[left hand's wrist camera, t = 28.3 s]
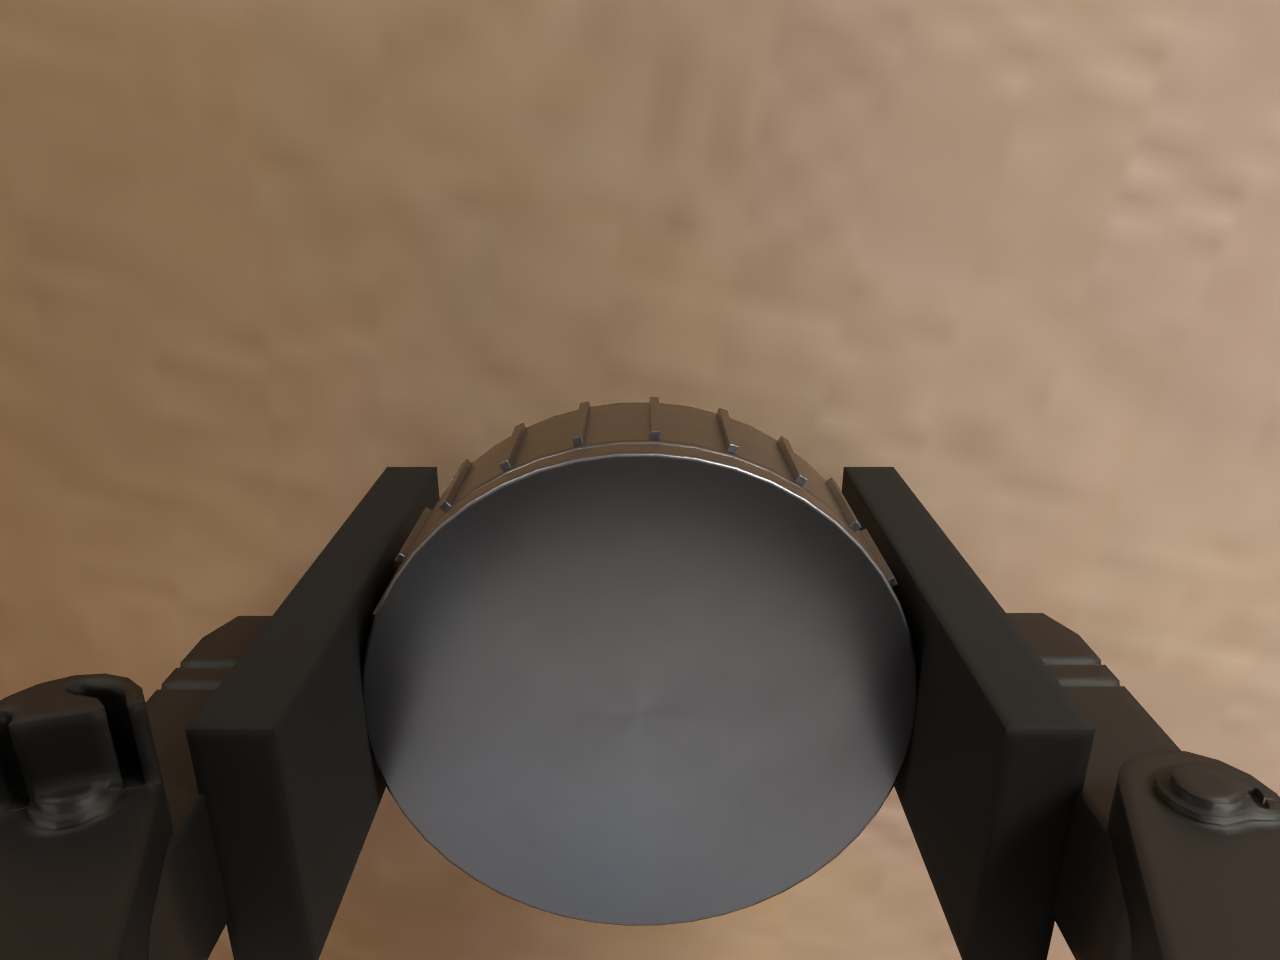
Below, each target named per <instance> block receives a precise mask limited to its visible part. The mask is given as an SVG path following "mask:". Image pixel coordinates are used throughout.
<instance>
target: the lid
mask: <svg viewBox="0 0 1280 960" xmlns="http://www.w3.org/2000/svg"><path fill="white" fill-rule="evenodd" d="M860 528H861V525H860V524H859V522H858V520H857V518H856V517H855V515H854V513H853V511H852V509H851V508H850V506H849V504H848V502H847V501H846V499H845V497H844V495H843V494H842V492H841V490H840V488H839V487H838V485H837V483H836V482H835V481H834V480H833V479H832V478H830V479H829V480H828V481H825V480H824V479H823V478H822V477H821V476H820V475H819V474H818V473H817V472H816V471H815V470H814V469H813V468H812V467H811V466H810V465H809V464H808V463H807V462H806V461H805V460H803V459H802V458H801V457H799V456H798V455H797V454H795V453H794V452H793V450H792V447H791V445H790V443H789V441H788V440H787V439H785V438H784V437H782V436H781V437H780V438H779V440H778V441H777V440H775V439H773V438H771V437H770V436H768V435H766V434H764V433H762V432H761V431H759V430H757V429H755V428H753V427H751V426H749V425H746V424H744V423H741V422H738V421H736V420H733V419H731V418H729V415H728V412H727V411H726V410H723V409H720V408H719V410H718V412H717V414H716V413H712V412H708V411H704V410H700V409H696V408H692V407H688V406H679V405H671V404H662V403H659V398H658V397H650V403H616V404H609V405H602V406H595V407H590V405H589V402H584V403H580V406H579V410H576V411H572V412H568V413H565V414H561V415H557V416H554V417H551V418H549V419H546V420H544V421H542V422H539V423H537V424H534V425H532V426H530V427H527V428H526V427H525V426H524V424H523V423H522V424H520V425H518V426H516V427H515V429H514V431H513V434H512V436H511V437H509V438H507V439H505V440H504V441H502V442H500V443H499V444H497V445H495V446H494V447H493V448H491V449H490V450H489V451H487V452H486V453H485V454H484V455H482V456H481V457H480V458H478V459H477V460H476V461H475V462H473V463H471V462H470V461H469V460H466V461H465V462H464V463H463V464H462V465H461V467H460V468H459V470H458V472H457V474H456V476H455V477H454V479H453V481H452V483H451V485H450V486H449V487H448V489H447V490H446V491H445V493H444V494H443V496H442V497H441V498H440V500H439V501H438V502H437V504H436V505H435V507H434V508H433V509H432V510H431V509H429V508H427V507H426V508H425V509H424V511H423V513H422V514H421V516H420V518H419V520H418V521H417V523H416V525H415V526H414V528H413V530H412V532H411V533H410V535H409V537H408V538H407V540H406V542H405V544H404V545H403V547H402V549H401V550H400V552H399V554H398V556H397V557H396V559H395V561H397V562H399V563H400V566H399V567H398V569H397V571H396V573H395V574H394V576H393V578H392V580H391V581H390V583H389V585H388V587H387V589H386V590H385V592H384V594H383V596H382V597H381V599H380V601H379V603H378V604H377V606H376V608H375V610H374V612H373V613H372V617H371V621H373V624H372V627H371V630H370V633H369V636H368V640H367V646H366V651H365V657H364V663H363V669H362V693H363V702H364V710H365V718H366V725H367V733H368V739H369V743H370V746H371V749H372V753H373V756H374V759H375V763H376V765H377V767H378V769H379V771H380V773H381V775H382V778H383V780H384V782H385V784H386V786H387V788H388V790H389V792H390V793H391V795H392V797H393V798H394V800H395V801H396V803H397V804H398V806H399V807H400V809H401V810H402V812H403V814H404V815H405V816H406V818H407V819H408V820H409V821H410V822H411V823H412V825H413V826H414V827H415V828H416V829H417V831H418V832H419V833H420V834H421V835H422V836H423V838H424V839H425V840H426V841H427V842H428V843H430V844H431V845H432V846H433V847H434V848H435V849H436V850H437V851H438V852H439V853H440V854H442V855H443V856H444V857H445V858H446V859H447V860H448V861H450V862H451V863H452V864H454V865H455V866H456V867H458V868H459V869H461V870H462V871H463V872H465V873H466V874H468V875H469V876H470V877H472V878H473V879H475V880H477V881H478V882H480V883H482V884H484V885H486V886H487V887H489V888H491V889H493V890H495V891H496V892H498V893H500V894H502V895H504V896H507V897H509V898H511V899H514V900H516V901H518V902H521V903H523V904H526V905H528V906H530V907H533V908H537V909H540V910H543V911H546V912H550V913H553V914H556V915H560V916H563V917H568V918H574V919H579V920H584V921H589V922H594V923H605V924H616V925H666V924H675V923H684V922H692V921H697V920H702V919H707V918H711V917H716V916H721V915H725V914H728V913H731V912H734V911H737V910H740V909H743V908H746V907H749V906H753V905H755V904H758V903H760V902H762V901H764V900H767V899H769V898H771V897H773V896H776V895H778V894H780V893H782V892H784V891H786V890H788V889H789V888H791V887H793V886H795V885H796V884H798V883H800V882H801V881H803V880H805V879H807V878H808V877H810V876H812V875H813V874H814V873H816V872H817V871H818V870H820V869H821V868H822V867H824V866H825V865H826V864H828V863H829V862H830V861H832V860H833V859H834V858H836V857H837V856H838V855H839V854H840V853H841V852H842V851H843V850H844V849H845V848H846V847H847V846H848V845H849V844H851V843H852V842H853V841H854V840H855V839H856V838H857V837H858V836H859V835H860V834H861V832H862V831H863V830H864V829H865V827H866V826H867V825H868V824H869V822H870V821H871V820H872V819H873V818H874V816H875V815H876V814H877V813H878V811H879V810H880V808H881V806H882V805H883V803H884V802H885V800H886V798H887V797H888V795H889V793H890V792H891V790H892V788H893V787H894V785H895V783H896V781H897V778H898V776H899V774H900V771H901V769H902V767H903V765H904V762H905V760H906V758H907V754H908V750H909V747H910V743H911V739H912V736H913V730H914V723H915V715H916V707H917V699H918V671H917V661H916V656H915V651H914V646H913V641H912V636H911V632H910V629H909V626H908V624H907V621H906V618H905V615H904V613H903V610H902V607H901V605H900V602H899V600H898V598H897V597H896V595H895V593H894V591H893V589H892V588H891V587H893V586H895V585H897V582H896V580H895V577H894V576H893V574H892V572H891V571H890V569H889V567H888V565H887V564H886V562H885V560H884V558H883V557H882V555H881V553H880V552H879V550H878V548H877V546H876V545H875V543H874V541H873V539H872V538H871V536H870V534H869V533H868V531H867V529H863V530H861V531H860V530H859V529H860Z"/></svg>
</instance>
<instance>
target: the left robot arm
mask: <svg viewBox="0 0 1280 960" xmlns="http://www.w3.org/2000/svg"><path fill="white" fill-rule="evenodd" d="M842 494H843V495H844V497H845V499H846V501H847V502H848V504H849V506H850V508H851V509H852V511H853V513H854V515H855V517H856V518H857V520H858V522H859V524H860V525H861V528H860V529H859V530H860V531H861V530H863V529H867V531H868V533H869V534H870V536H871V538H872V539H873V541H874V543H875V545H876V546H877V548H878V550H879V552H880V553H881V555H882V557H883V558H884V560H885V562H886V564H887V565H888V567H889V569H890V571H891V572H892V574H893V576H894V577H895V580H896V582H897V585H895V586H893V587H891V588H892V589H893V591H894V593H895V595H896V597H897V598H898V600H899V602H900V605H901V607H902V610H903V613H904V615H905V618H906V621H907V624H908V626H909V629H910V632H911V636H912V641H913V646H914V651H915V656H916V661H917V671H918V699H917V707H916V715H915V723H914V730H913V736H912V739H911V743H910V747H909V750H908V754H907V758H906V760H905V762H904V765H903V767H902V769H901V771H900V774H899V776H898V778H897V781H896V783H895V785H894V787H895V789H896V792H897V794H898V797H899V799H900V802H901V804H902V807H903V810H904V812H905V815H906V817H907V820H908V822H909V825H910V827H911V830H912V833H913V835H914V838H915V840H916V843H917V845H918V848H919V850H920V853H921V855H922V858H923V861H924V863H925V866H926V868H927V871H928V873H929V876H930V878H931V881H932V884H933V886H934V889H935V891H936V894H937V896H938V899H939V901H940V904H941V906H942V909H943V912H944V914H945V917H946V919H947V922H948V924H949V927H950V929H951V932H952V935H953V937H954V940H955V942H956V945H957V947H958V950H959V952H960V955H961V957H962V960H1047V955H1048V950H1049V946H1050V941H1051V936H1052V932H1053V927H1054V922H1055V921H1056V923H1057V925H1058V927H1059V929H1060V931H1061V933H1062V934H1063V936H1064V938H1065V940H1066V942H1067V944H1068V946H1069V948H1070V950H1071V951H1072V953H1073V955H1074V957H1075V959H1076V960H1280V797H1279V796H1278V795H1277V794H1276V793H1275V792H1273V791H1272V790H1271V789H1269V788H1268V787H1267V786H1265V785H1264V784H1262V783H1261V782H1260V781H1258V780H1257V779H1255V778H1254V777H1253V776H1251V775H1249V774H1247V773H1245V772H1243V771H1241V770H1239V769H1237V768H1234V767H1232V766H1230V765H1228V764H1226V763H1224V762H1222V761H1219V760H1216V759H1212V758H1208V757H1205V756H1201V755H1197V754H1194V753H1190V752H1186V751H1181V750H1180V749H1179V748H1178V747H1177V746H1176V744H1175V743H1174V742H1173V741H1172V740H1171V739H1170V738H1169V737H1168V735H1167V734H1166V733H1165V732H1164V731H1163V730H1162V729H1161V727H1160V726H1159V725H1158V724H1157V723H1156V722H1155V721H1154V720H1153V718H1152V717H1151V716H1150V715H1149V714H1148V713H1147V712H1146V711H1145V709H1144V708H1143V707H1142V706H1141V705H1140V704H1139V703H1138V701H1137V700H1136V699H1135V698H1134V697H1133V696H1132V695H1131V694H1130V692H1129V691H1128V690H1127V689H1126V688H1125V687H1124V686H1120V684H1119V680H1118V679H1117V678H1116V677H1115V675H1114V674H1113V673H1112V672H1111V671H1110V670H1109V669H1108V668H1107V666H1106V665H1101V660H1100V658H1099V657H1098V656H1097V655H1096V654H1095V653H1094V652H1093V651H1092V649H1091V648H1090V647H1089V646H1088V645H1087V644H1086V643H1085V641H1084V640H1083V639H1082V638H1081V637H1080V636H1079V635H1078V634H1076V633H1075V632H1073V631H1071V630H1070V629H1068V628H1066V627H1065V626H1063V625H1062V624H1060V623H1058V622H1057V621H1055V620H1053V619H1052V618H1050V617H1048V616H1047V615H1045V614H1043V613H1005V611H1004V610H1003V609H1002V607H1001V606H1000V605H999V604H998V602H997V601H996V600H995V598H994V597H993V596H992V594H991V593H990V592H989V591H988V589H987V588H986V587H985V585H984V584H983V583H982V581H981V580H980V579H979V578H978V576H977V575H976V574H975V572H974V571H973V570H972V568H971V567H970V566H969V565H968V563H967V562H966V561H965V559H964V558H963V557H962V556H961V554H960V553H959V552H958V550H957V549H956V548H955V546H954V545H953V544H952V543H951V541H950V540H949V539H948V537H947V536H946V535H945V533H944V532H943V531H942V530H941V528H940V527H939V526H938V524H937V523H936V522H935V520H934V519H933V518H932V517H931V515H930V514H929V513H928V511H927V510H926V509H925V508H924V506H923V505H922V504H921V502H920V501H919V500H918V498H917V497H916V496H915V495H914V493H913V492H912V491H911V489H910V488H909V487H908V485H907V484H906V483H905V482H904V480H903V479H902V478H901V476H900V475H899V474H898V472H897V471H896V470H895V469H894V467H844V472H843V484H842ZM438 501H439V489H438V477H437V467H387V468H386V469H385V471H384V472H383V473H382V475H381V476H380V477H379V478H378V480H377V481H376V482H375V484H374V485H373V486H372V488H371V489H370V490H369V491H368V493H367V494H366V495H365V497H364V498H363V499H362V500H361V502H360V503H359V504H358V506H357V507H356V508H355V510H354V511H353V512H352V513H351V515H350V516H349V517H348V519H347V520H346V521H345V523H344V524H343V525H342V526H341V528H340V529H339V530H338V532H337V533H336V534H335V536H334V537H333V538H332V539H331V541H330V542H329V543H328V545H327V546H326V547H325V549H324V550H323V551H322V552H321V554H320V555H319V556H318V558H317V559H316V560H315V561H314V563H313V564H312V565H311V567H310V568H309V569H308V571H307V572H306V573H305V574H304V576H303V577H302V578H301V580H300V581H299V582H298V584H297V585H296V586H295V587H294V589H293V590H292V591H291V593H290V594H289V595H288V597H287V598H286V599H285V600H284V602H283V603H282V604H281V606H280V607H279V608H278V610H277V611H276V612H275V613H274V615H273V616H238V617H236V618H235V619H233V620H231V621H230V622H228V623H226V624H225V625H223V626H221V627H220V628H218V629H216V630H215V631H213V632H211V633H210V634H208V635H206V636H205V637H203V638H202V639H201V640H200V641H199V643H198V644H197V645H196V646H195V647H194V648H193V649H192V651H191V652H190V653H189V654H188V655H187V656H186V657H185V659H184V660H183V661H182V662H181V663H180V664H181V666H180V668H176V669H175V670H174V671H173V672H172V673H171V674H170V676H169V677H168V678H167V679H166V680H165V681H164V682H163V684H162V689H161V690H156V692H155V693H154V694H153V695H152V696H151V697H150V698H149V700H148V701H147V702H146V703H145V700H144V695H143V691H142V688H141V687H140V686H138V685H137V684H136V683H134V682H133V681H132V680H130V679H129V678H126V677H120V676H115V675H109V674H92V675H76V676H70V677H66V678H62V679H57V680H53V681H49V682H45V683H40V684H38V685H35V686H33V687H30V688H28V689H25V690H23V691H20V692H18V693H15V694H13V695H10V696H8V697H6V698H4V699H2V700H1V701H0V960H207V959H208V957H209V956H210V954H211V952H212V950H213V948H214V946H215V944H216V942H217V940H218V939H219V937H220V935H221V933H222V931H223V929H224V927H225V925H226V924H227V929H228V933H229V938H230V943H231V948H232V952H233V957H234V960H318V959H319V956H320V954H321V951H322V949H323V946H324V944H325V941H326V939H327V936H328V933H329V931H330V928H331V926H332V923H333V921H334V918H335V916H336V913H337V911H338V908H339V905H340V903H341V900H342V898H343V895H344V893H345V890H346V888H347V885H348V882H349V880H350V877H351V875H352V872H353V870H354V867H355V865H356V862H357V859H358V857H359V854H360V852H361V849H362V847H363V844H364V842H365V839H366V837H367V834H368V831H369V829H370V826H371V824H372V821H373V819H374V816H375V814H376V811H377V808H378V806H379V803H380V801H381V798H382V796H383V793H384V791H385V788H386V784H385V782H384V780H383V778H382V775H381V773H380V771H379V769H378V767H377V765H376V763H375V759H374V756H373V753H372V749H371V746H370V743H369V739H368V733H367V725H366V718H365V710H364V702H363V693H362V669H363V663H364V657H365V651H366V646H367V640H368V636H369V633H370V630H371V627H372V624H373V621H371V617H372V613H373V612H374V610H375V608H376V606H377V604H378V603H379V601H380V599H381V597H382V596H383V594H384V592H385V590H386V589H387V587H388V585H389V583H390V581H391V580H392V578H393V576H394V574H395V573H396V571H397V569H398V567H399V566H400V563H399V562H397V561H395V559H396V557H397V556H398V554H399V552H400V550H401V549H402V547H403V545H404V544H405V542H406V540H407V538H408V537H409V535H410V533H411V532H412V530H413V528H414V526H415V525H416V523H417V521H418V520H419V518H420V516H421V514H422V513H423V511H424V509H425V508H426V507H427V508H429V509H431V510H432V509H433V508H434V507H435V505H436V504H437V502H438Z"/></svg>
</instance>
